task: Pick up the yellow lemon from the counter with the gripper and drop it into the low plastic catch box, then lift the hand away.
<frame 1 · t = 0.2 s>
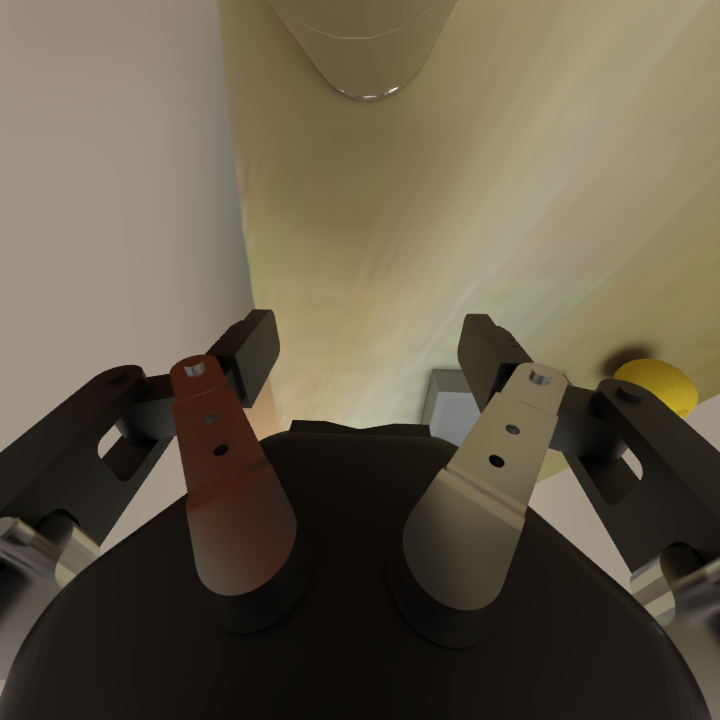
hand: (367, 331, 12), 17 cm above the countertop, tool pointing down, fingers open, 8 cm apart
lemon: (623, 363, 33), on the countertop
catch box: (480, 416, 39), on the countertop
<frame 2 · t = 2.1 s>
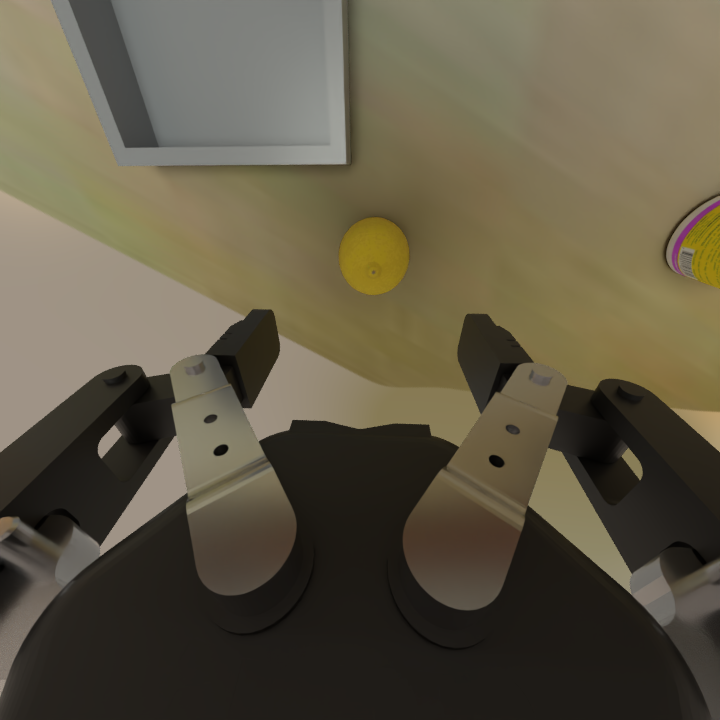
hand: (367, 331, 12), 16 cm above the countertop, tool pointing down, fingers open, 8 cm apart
lemon: (374, 244, 26), on the countertop
supplement bottle: (706, 233, 24), on the countertop
catch box: (223, 13, 18), on the countertop
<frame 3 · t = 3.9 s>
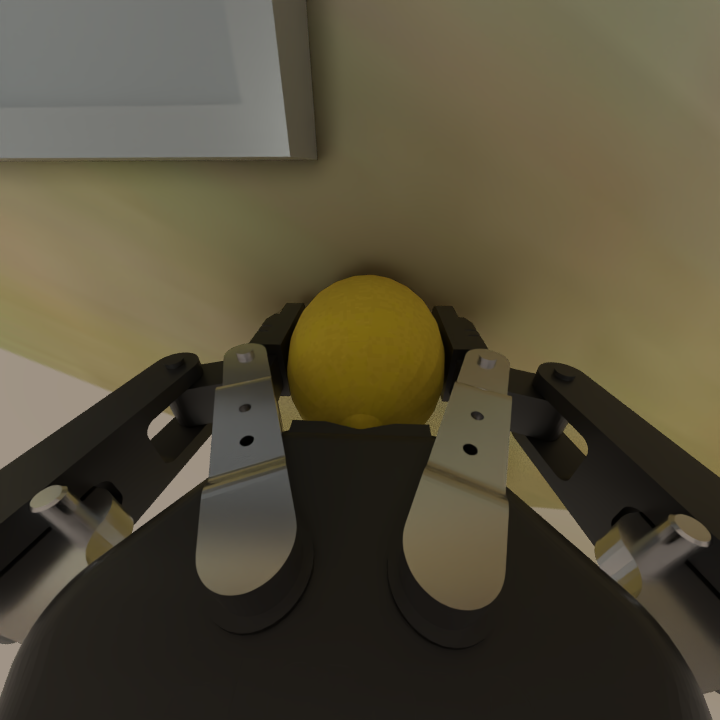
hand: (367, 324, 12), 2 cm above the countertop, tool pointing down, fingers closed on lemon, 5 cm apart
lemon: (369, 308, 14), on the countertop, touching gripper
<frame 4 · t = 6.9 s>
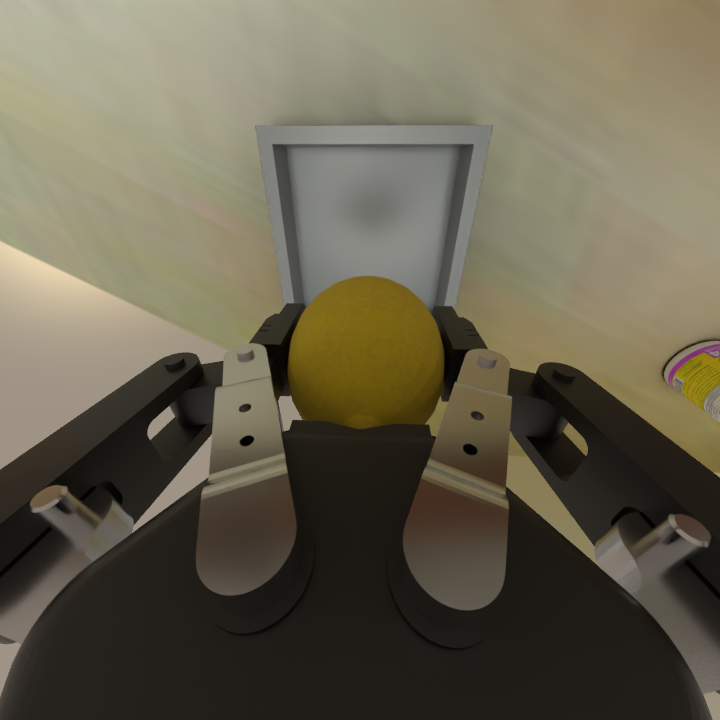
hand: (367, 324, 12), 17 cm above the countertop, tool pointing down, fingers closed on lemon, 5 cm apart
lemon: (369, 309, 14), point 16 cm above the countertop, touching gripper
supplement bottle: (692, 361, 33), on the countertop
catch box: (370, 239, 27), on the countertop
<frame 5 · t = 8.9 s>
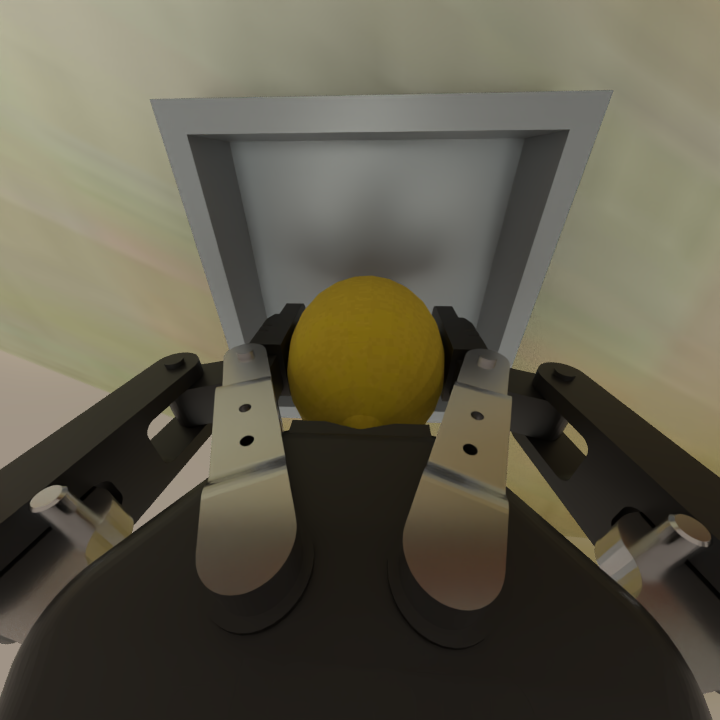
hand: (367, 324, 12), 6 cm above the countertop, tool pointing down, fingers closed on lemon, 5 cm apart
lemon: (368, 309, 14), point 4 cm above the countertop, touching gripper
catch box: (371, 282, 18), on the countertop
when the fingers open (4 cm above the countertop, at t = 10.2 s): lemon drops 2 cm, resting on catch box.
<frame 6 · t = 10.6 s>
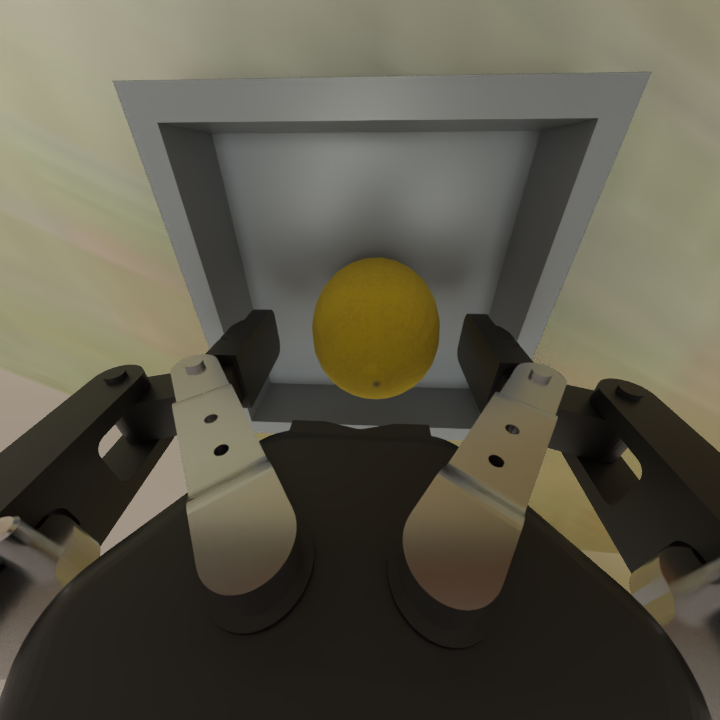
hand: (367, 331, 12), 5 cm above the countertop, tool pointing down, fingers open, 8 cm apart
lemon: (375, 288, 16), resting on catch box
catch box: (369, 288, 16), on the countertop
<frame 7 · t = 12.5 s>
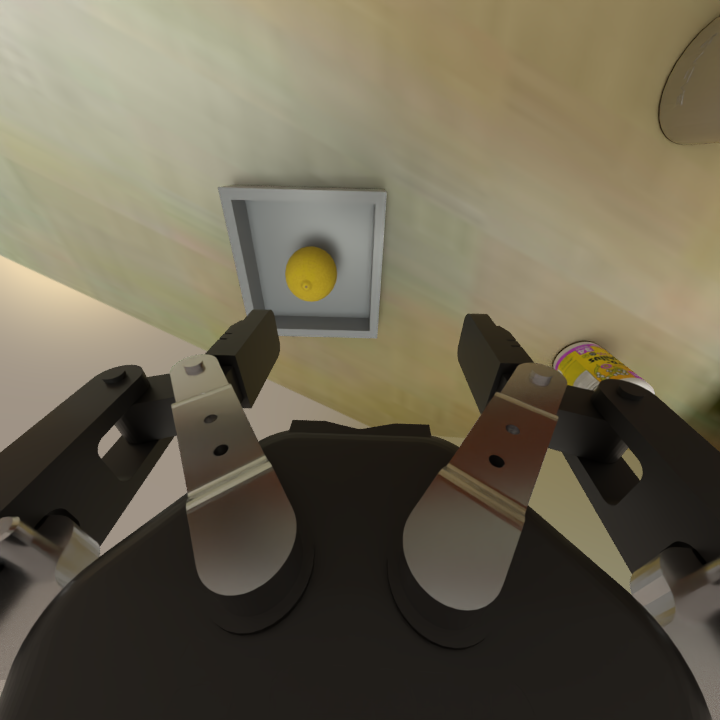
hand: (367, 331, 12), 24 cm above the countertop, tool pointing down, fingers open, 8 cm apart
lemon: (316, 263, 34), resting on catch box
supplement bottle: (573, 358, 42), on the countertop
catch box: (314, 263, 34), on the countertop
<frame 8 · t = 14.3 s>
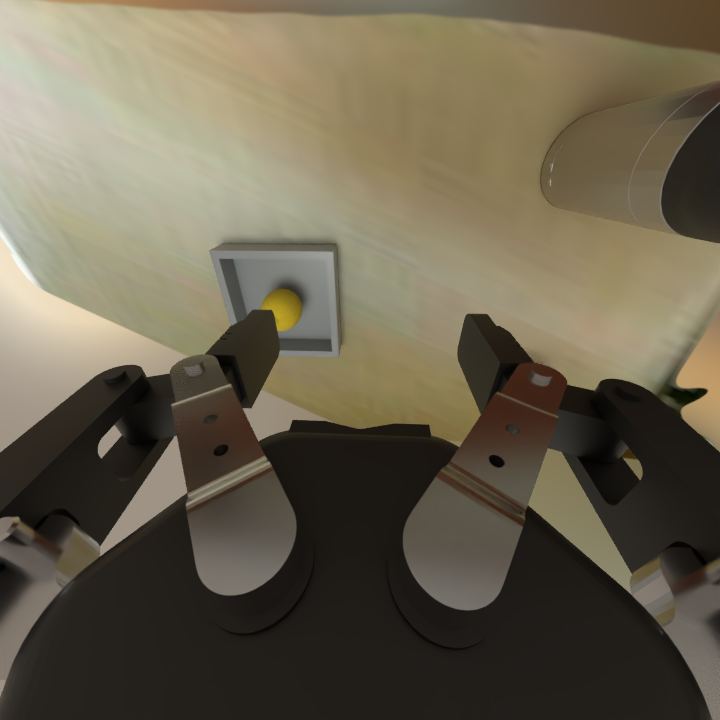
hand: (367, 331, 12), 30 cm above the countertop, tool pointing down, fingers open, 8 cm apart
lemon: (289, 298, 43), resting on catch box
catch box: (287, 298, 44), on the countertop
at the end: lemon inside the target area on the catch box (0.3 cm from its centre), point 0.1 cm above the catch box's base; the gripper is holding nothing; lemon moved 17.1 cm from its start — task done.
